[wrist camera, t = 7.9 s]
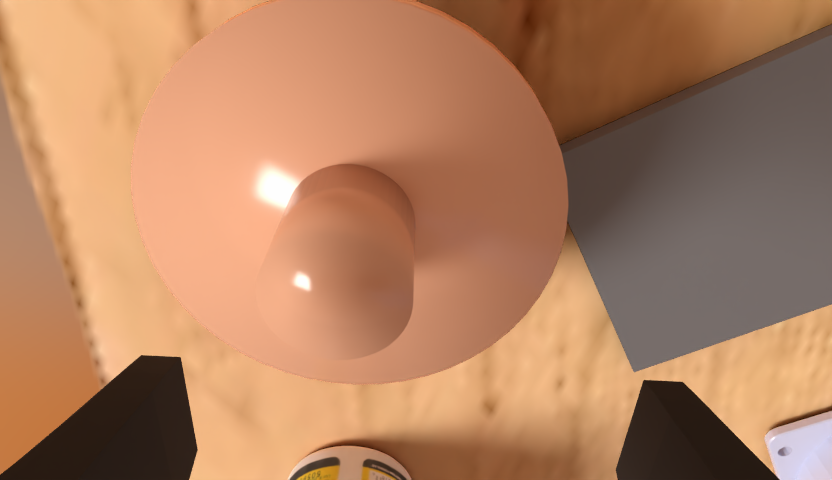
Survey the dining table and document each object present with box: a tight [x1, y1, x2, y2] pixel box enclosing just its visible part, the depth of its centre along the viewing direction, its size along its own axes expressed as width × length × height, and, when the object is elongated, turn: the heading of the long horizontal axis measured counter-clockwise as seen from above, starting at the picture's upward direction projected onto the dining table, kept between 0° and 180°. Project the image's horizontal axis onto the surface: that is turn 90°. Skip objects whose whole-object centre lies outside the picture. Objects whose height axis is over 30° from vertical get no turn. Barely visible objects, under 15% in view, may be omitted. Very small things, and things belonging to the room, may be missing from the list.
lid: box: [131, 0, 569, 384], centre depth 13 cm, size 10×10×4 cm
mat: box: [559, 24, 832, 372], centre depth 19 cm, size 9×9×1 cm
